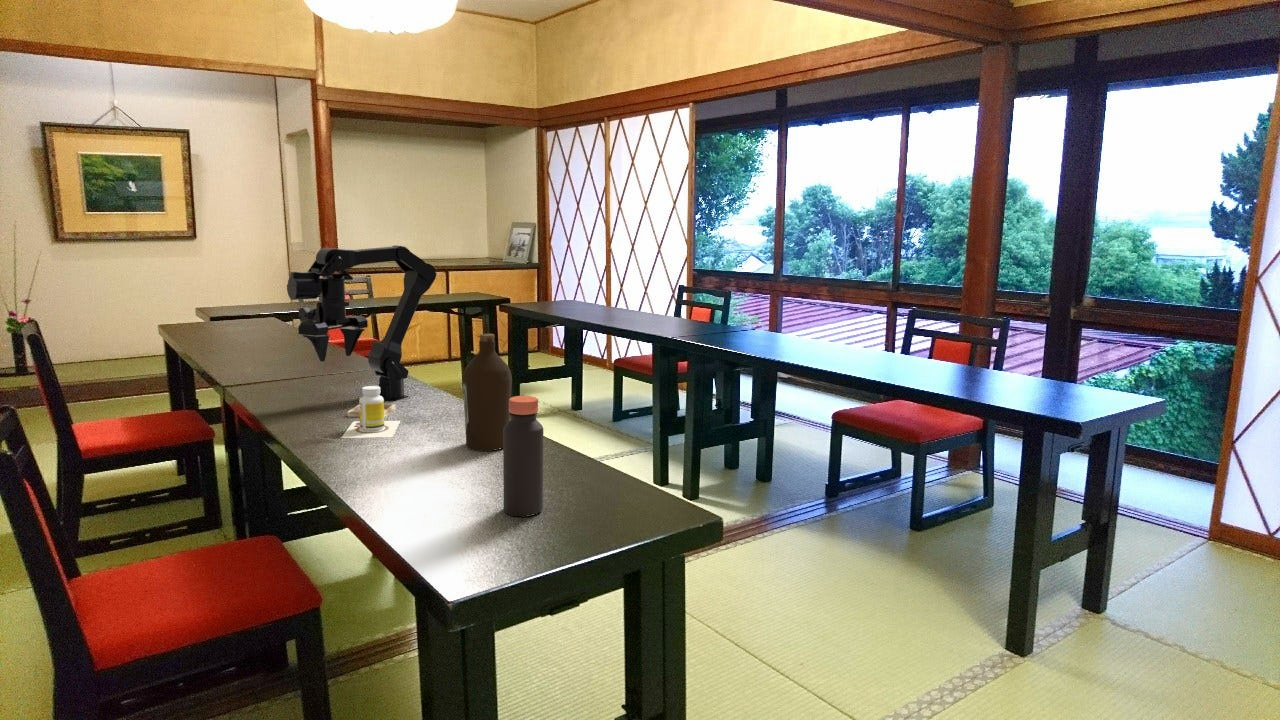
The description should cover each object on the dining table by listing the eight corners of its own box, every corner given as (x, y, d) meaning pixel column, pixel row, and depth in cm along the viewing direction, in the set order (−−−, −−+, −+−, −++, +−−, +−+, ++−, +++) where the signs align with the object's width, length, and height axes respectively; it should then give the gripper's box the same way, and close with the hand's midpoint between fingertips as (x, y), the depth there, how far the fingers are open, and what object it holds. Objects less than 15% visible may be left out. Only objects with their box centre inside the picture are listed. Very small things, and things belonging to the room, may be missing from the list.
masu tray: (361, 409, 195) (361, 403, 195) (396, 410, 195) (395, 404, 195) (347, 418, 186) (347, 411, 186) (384, 419, 186) (383, 412, 186)
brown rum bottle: (514, 438, 173) (514, 331, 168) (508, 453, 163) (508, 338, 158) (468, 438, 173) (466, 330, 168) (459, 452, 162) (457, 337, 158)
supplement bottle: (389, 427, 178) (388, 386, 176) (372, 432, 173) (371, 391, 171) (371, 424, 180) (370, 384, 178) (354, 429, 175) (353, 388, 173)
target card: (353, 423, 182) (353, 421, 182) (400, 422, 184) (400, 420, 184) (341, 439, 168) (341, 437, 168) (392, 438, 170) (392, 436, 170)
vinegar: (508, 520, 127) (508, 405, 123) (499, 506, 133) (499, 395, 129) (547, 515, 129) (548, 402, 126) (536, 501, 135) (537, 393, 132)
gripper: (334, 293, 202) (336, 350, 205) (279, 299, 184) (282, 361, 187) (368, 295, 198) (370, 354, 201) (315, 302, 181) (318, 365, 184)
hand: (335, 358), depth 193 cm, fingers open, 9 cm apart
